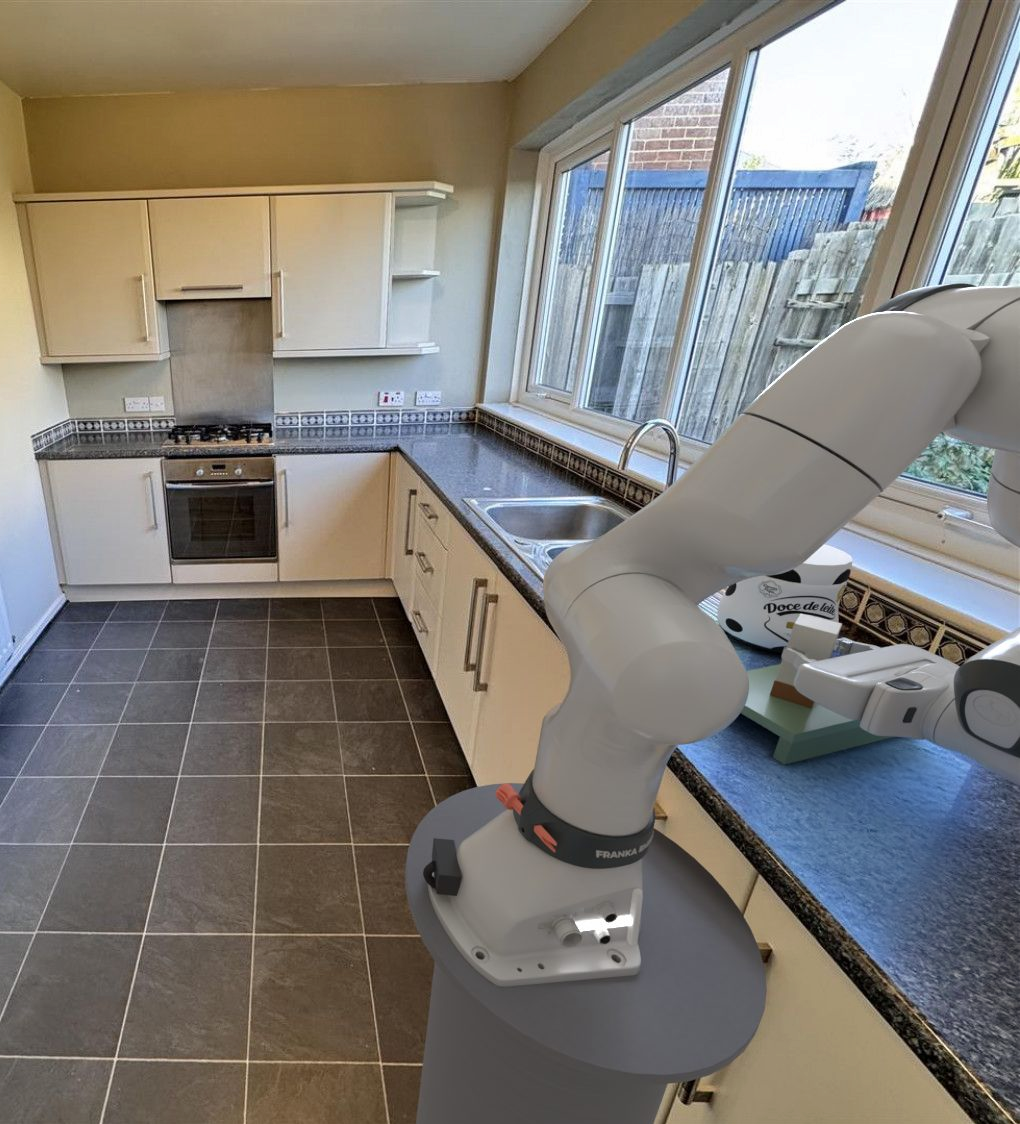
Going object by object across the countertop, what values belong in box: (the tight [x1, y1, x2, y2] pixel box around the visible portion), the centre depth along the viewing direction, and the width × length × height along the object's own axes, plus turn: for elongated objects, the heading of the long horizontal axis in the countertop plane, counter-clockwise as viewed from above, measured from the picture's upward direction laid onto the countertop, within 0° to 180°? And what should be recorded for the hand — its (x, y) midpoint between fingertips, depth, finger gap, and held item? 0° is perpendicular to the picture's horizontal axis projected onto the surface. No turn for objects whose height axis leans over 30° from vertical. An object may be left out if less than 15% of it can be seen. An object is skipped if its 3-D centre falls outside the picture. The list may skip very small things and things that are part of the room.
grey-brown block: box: [770, 614, 843, 709], centre depth 89 cm, size 10×5×12 cm, turn 133°
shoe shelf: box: [740, 663, 896, 766], centre depth 92 cm, size 24×14×5 cm, turn 105°
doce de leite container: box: [716, 543, 853, 654], centre depth 112 cm, size 17×17×18 cm
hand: (811, 647), depth 87 cm, fingers open, 8 cm apart
